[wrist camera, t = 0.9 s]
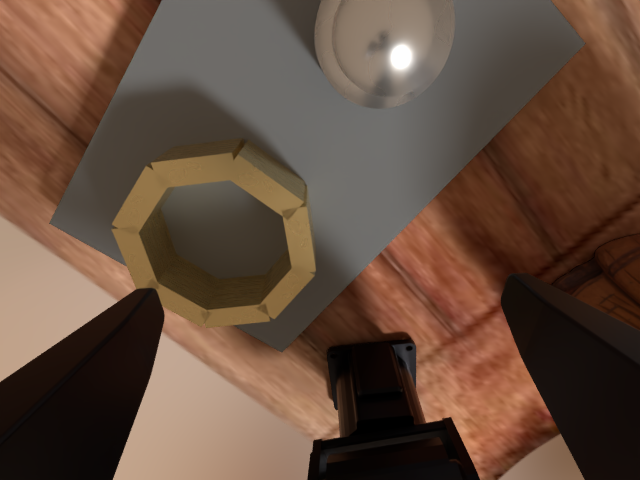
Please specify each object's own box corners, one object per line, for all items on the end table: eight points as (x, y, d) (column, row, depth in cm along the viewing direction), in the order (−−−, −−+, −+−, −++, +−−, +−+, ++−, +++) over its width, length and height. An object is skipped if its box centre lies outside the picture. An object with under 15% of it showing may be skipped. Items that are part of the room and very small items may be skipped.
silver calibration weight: (423, 90, 18) (466, 105, 13) (320, 103, 18) (324, 123, 13) (425, -37, 15) (477, -77, 11) (307, -21, 16) (305, -52, 11)
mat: (283, 337, 27) (281, 352, 25) (65, 212, 22) (49, 223, 21) (565, 44, 18) (585, 43, 17) (311, -263, 14) (311, -296, 12)
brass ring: (321, 284, 23) (322, 315, 20) (173, 300, 23) (155, 333, 21) (299, 131, 19) (297, 144, 16) (118, 153, 19) (86, 170, 16)
